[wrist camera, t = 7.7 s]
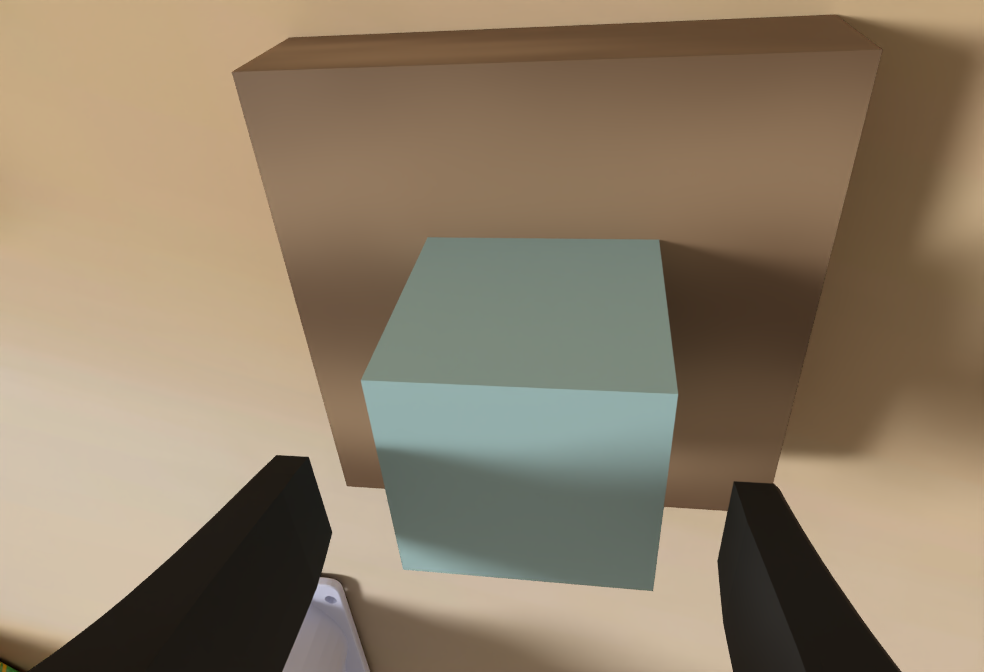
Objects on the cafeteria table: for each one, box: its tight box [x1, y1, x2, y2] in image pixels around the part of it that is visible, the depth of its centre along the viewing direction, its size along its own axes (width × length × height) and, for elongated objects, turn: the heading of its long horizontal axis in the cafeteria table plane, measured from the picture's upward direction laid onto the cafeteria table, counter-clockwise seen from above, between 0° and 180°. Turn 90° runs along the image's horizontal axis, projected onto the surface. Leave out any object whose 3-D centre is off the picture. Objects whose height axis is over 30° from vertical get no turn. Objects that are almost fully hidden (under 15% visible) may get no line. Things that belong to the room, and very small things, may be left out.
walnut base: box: [232, 15, 882, 511], centre depth 17 cm, size 12×12×3 cm
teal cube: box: [361, 237, 678, 591], centre depth 14 cm, size 5×5×5 cm
